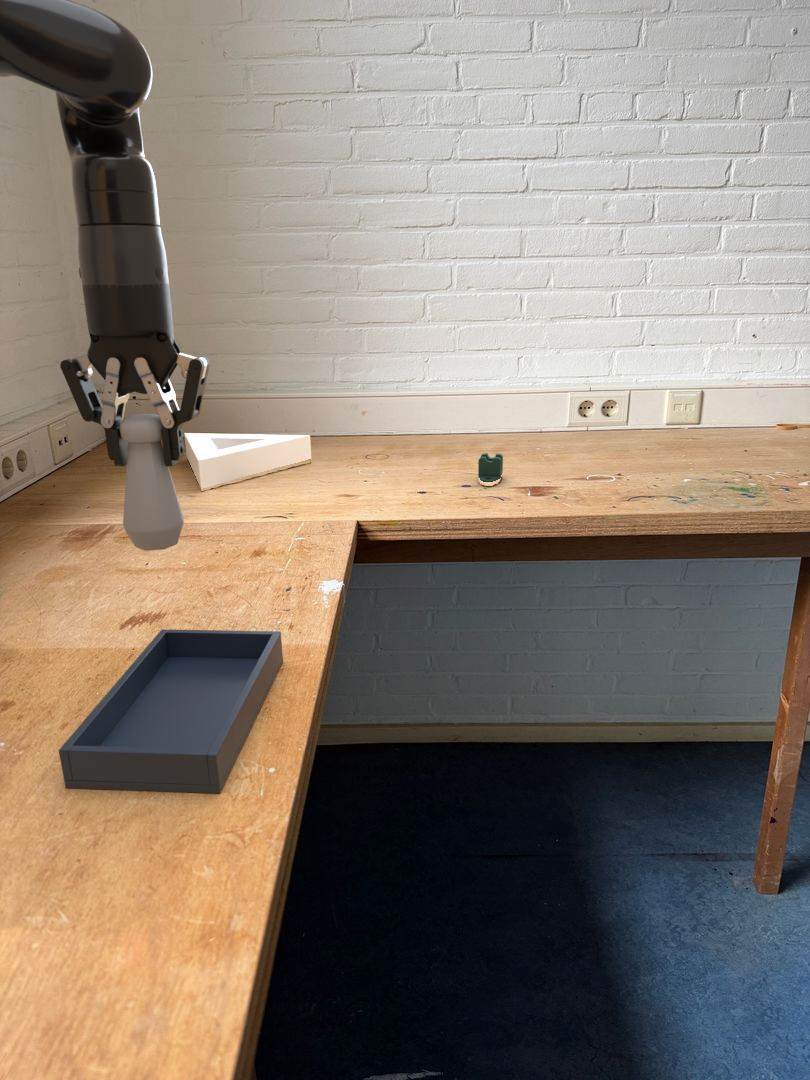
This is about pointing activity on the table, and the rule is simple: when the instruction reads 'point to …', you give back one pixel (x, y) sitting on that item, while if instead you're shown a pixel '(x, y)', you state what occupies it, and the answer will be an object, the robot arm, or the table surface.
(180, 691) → the dark blue tray
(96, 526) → the table surface
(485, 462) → the mount
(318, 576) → the table surface
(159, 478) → the salt shaker
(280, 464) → the triangle block
